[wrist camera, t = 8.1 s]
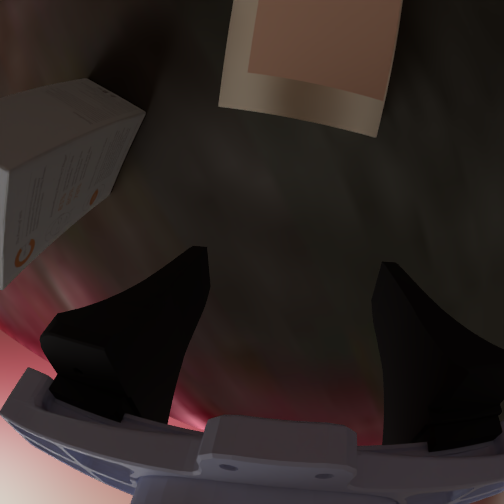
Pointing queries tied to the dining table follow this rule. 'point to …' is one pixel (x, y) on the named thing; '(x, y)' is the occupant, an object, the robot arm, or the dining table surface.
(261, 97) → the maple base block
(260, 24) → the terracotta block
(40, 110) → the small box
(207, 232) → the dining table surface
